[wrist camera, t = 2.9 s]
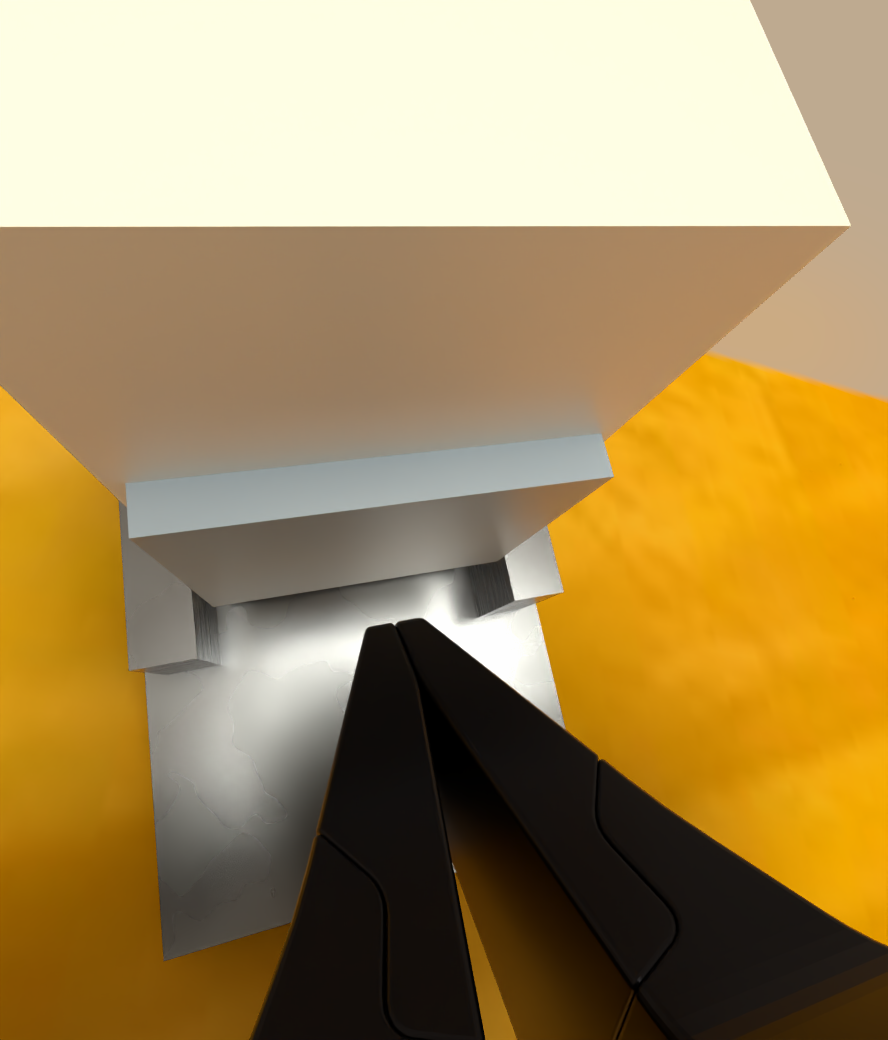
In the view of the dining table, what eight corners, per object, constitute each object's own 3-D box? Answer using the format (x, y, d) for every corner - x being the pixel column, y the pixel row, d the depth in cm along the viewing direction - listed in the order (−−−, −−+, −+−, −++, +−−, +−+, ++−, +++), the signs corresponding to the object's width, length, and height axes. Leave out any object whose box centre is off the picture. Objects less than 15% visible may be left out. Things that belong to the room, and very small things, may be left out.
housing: (573, 823, 15) (655, 865, 12) (175, 941, 13) (116, 1044, 9) (468, 371, 19) (506, 291, 15) (136, 394, 16) (81, 305, 12)
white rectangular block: (465, 588, 15) (883, 295, 4) (229, 628, 14) (-171, 340, 2) (435, 444, 16) (700, -111, 5) (212, 467, 15) (-125, -255, 3)
